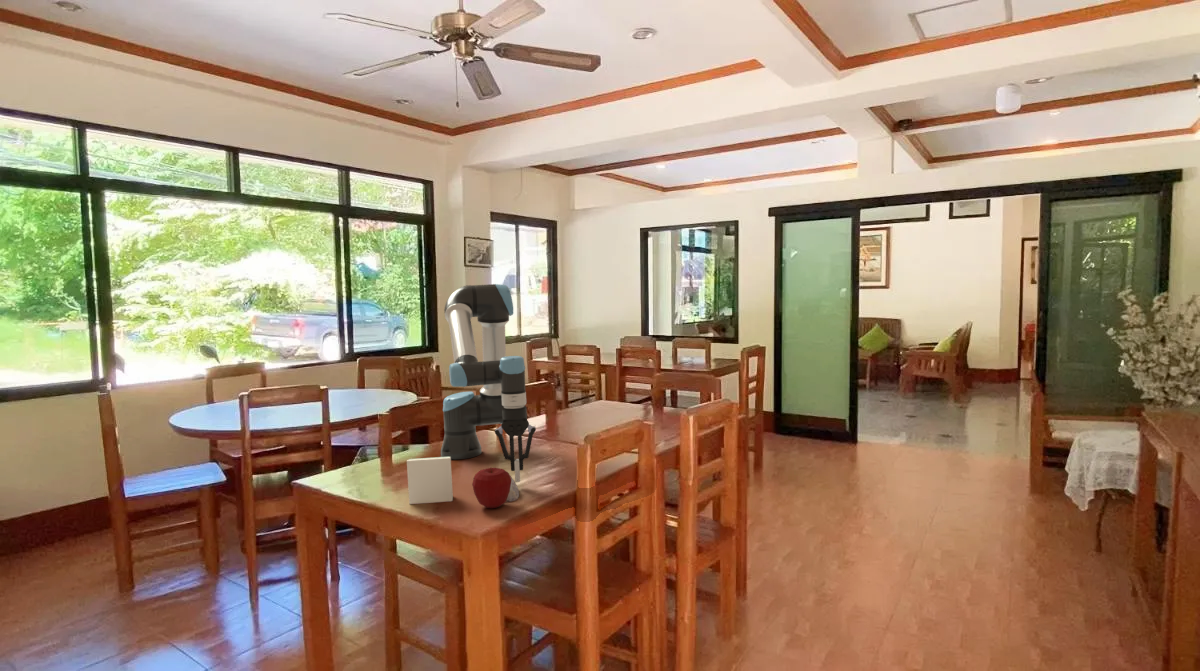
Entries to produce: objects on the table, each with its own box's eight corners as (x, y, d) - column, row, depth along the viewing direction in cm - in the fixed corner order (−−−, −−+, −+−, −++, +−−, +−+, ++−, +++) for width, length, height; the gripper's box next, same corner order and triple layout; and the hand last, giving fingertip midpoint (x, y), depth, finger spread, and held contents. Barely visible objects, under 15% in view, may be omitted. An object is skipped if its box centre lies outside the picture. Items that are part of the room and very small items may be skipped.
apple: (471, 514, 176) (469, 473, 175) (475, 501, 187) (473, 462, 186) (511, 512, 177) (509, 471, 176) (513, 499, 187) (511, 460, 187)
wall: (410, 502, 188) (407, 459, 187) (452, 499, 189) (450, 457, 188) (409, 504, 186) (406, 460, 185) (452, 501, 188) (450, 458, 187)
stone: (510, 520, 186) (531, 493, 188) (485, 501, 183) (507, 473, 185) (494, 503, 201) (514, 478, 204) (471, 485, 198) (492, 460, 200)
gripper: (492, 409, 191) (496, 485, 193) (535, 407, 193) (538, 482, 195) (493, 405, 199) (497, 478, 201) (535, 402, 200) (538, 475, 202)
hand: (517, 480), depth 198 cm, fingers closed
